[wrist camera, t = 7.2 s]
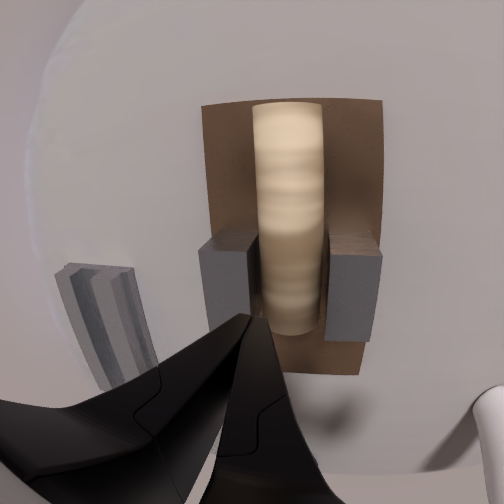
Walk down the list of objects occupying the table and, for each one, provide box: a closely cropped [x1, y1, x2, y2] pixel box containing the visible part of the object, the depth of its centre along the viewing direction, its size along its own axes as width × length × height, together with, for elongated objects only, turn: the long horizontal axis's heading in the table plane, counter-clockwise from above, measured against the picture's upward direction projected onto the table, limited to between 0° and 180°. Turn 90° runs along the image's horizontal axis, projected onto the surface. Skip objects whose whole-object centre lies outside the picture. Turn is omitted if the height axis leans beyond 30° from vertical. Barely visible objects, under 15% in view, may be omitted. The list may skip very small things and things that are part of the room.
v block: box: [54, 263, 158, 392], centre depth 29 cm, size 16×9×3 cm, turn 3°
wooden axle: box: [252, 102, 324, 336], centre depth 18 cm, size 14×4×4 cm, turn 3°
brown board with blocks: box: [198, 98, 384, 375], centre depth 20 cm, size 22×12×5 cm, turn 3°
